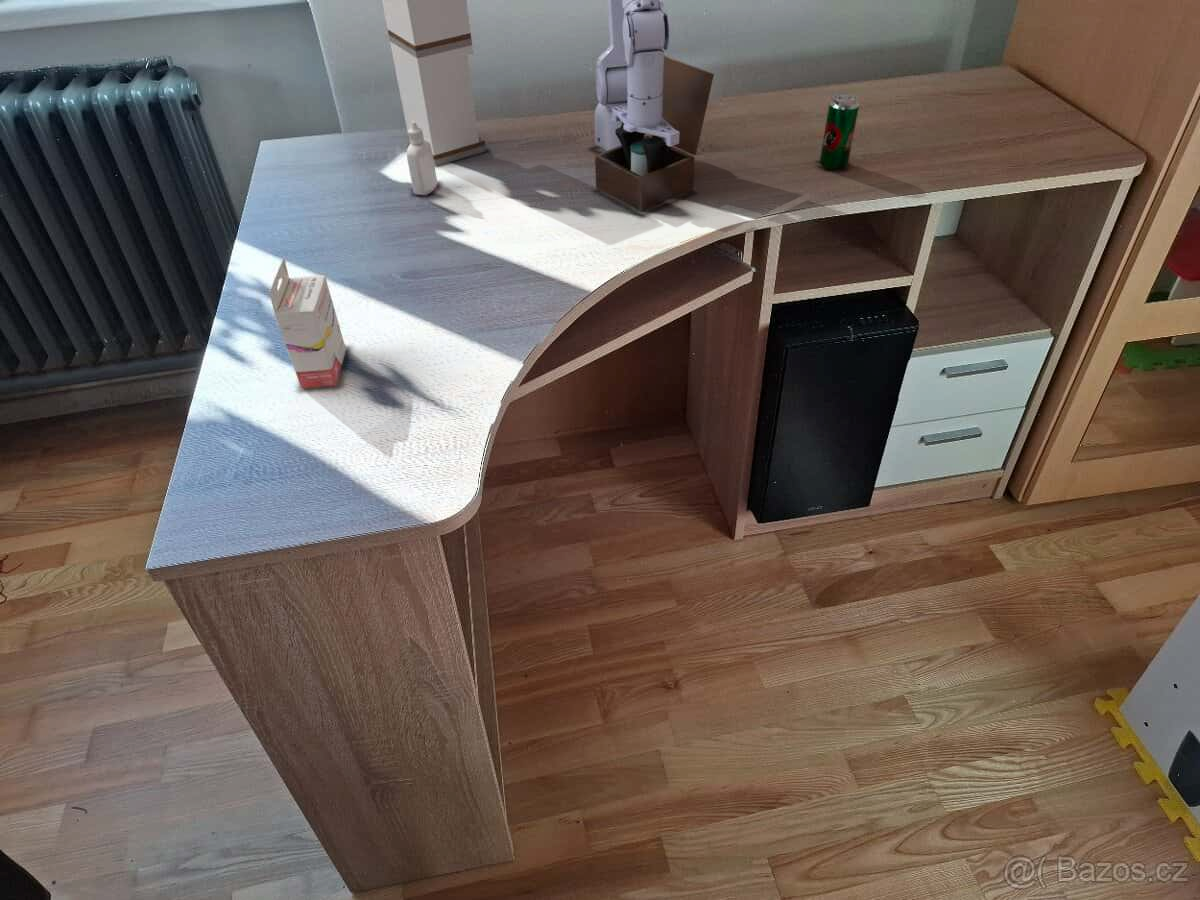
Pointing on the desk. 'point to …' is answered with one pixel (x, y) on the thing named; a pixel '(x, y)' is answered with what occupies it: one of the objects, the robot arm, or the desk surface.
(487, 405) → the desk surface
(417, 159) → the eye dropper bottle
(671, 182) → the box
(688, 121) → the box lid
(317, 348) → the ink cartridge box
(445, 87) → the brown banded pillar
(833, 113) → the soda can
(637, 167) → the container
